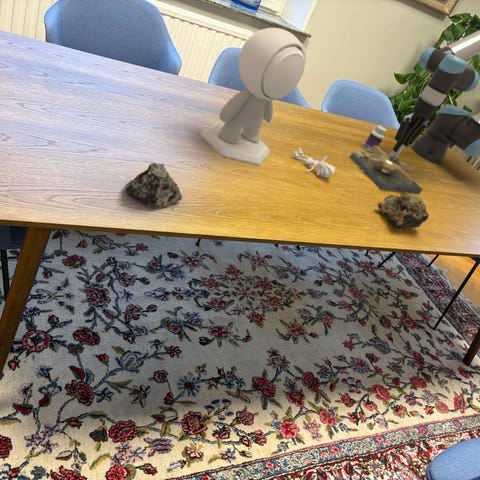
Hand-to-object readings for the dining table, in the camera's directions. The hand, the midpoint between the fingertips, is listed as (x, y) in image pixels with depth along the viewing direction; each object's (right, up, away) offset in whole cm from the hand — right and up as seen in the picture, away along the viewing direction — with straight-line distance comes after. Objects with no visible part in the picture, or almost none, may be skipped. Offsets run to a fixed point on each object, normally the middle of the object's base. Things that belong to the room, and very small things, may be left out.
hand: (391, 158), depth 169 cm
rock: (-76, -21, -68) cm, 104 cm away
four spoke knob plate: (-3, -5, -6) cm, 9 cm away
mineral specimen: (-10, -24, -30) cm, 40 cm away
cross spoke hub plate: (-4, -7, -5) cm, 9 cm away
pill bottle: (-6, +6, +11) cm, 14 cm away
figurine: (-34, -8, -24) cm, 42 cm away
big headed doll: (-58, -1, -31) cm, 66 cm away
